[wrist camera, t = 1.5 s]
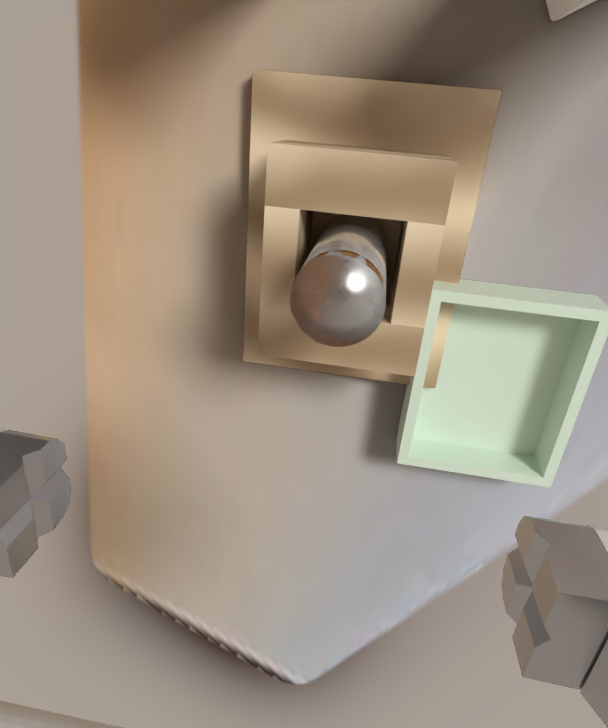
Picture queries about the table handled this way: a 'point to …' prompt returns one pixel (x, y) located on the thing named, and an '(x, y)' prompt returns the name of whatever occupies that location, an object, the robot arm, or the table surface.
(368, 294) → the steel pin
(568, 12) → the ink cartridge box
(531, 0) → the table surface
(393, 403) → the table surface
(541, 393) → the tray
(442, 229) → the block
